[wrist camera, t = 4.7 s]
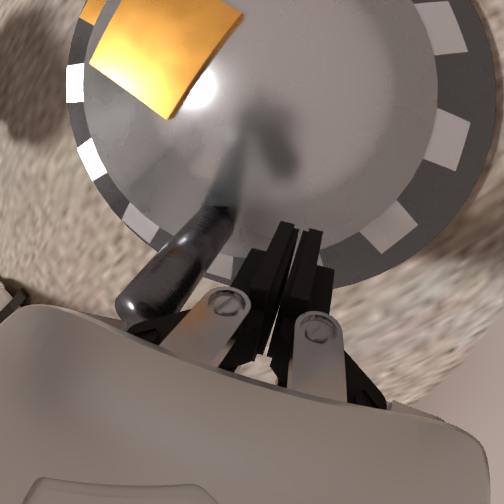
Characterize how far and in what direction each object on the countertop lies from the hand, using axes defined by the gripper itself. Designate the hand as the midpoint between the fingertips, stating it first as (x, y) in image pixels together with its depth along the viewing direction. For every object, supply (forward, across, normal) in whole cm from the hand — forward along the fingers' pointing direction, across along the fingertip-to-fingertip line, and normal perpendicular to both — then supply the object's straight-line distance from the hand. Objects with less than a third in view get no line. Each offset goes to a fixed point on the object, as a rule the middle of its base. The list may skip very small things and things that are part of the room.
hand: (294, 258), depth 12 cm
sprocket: (+3, +4, -6) cm, 7 cm away
